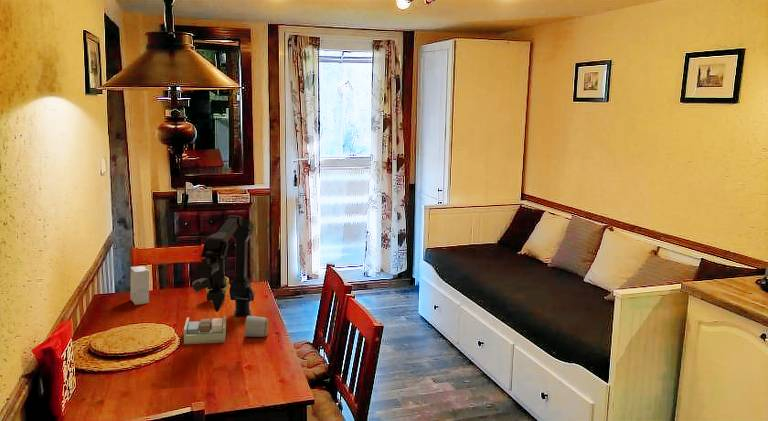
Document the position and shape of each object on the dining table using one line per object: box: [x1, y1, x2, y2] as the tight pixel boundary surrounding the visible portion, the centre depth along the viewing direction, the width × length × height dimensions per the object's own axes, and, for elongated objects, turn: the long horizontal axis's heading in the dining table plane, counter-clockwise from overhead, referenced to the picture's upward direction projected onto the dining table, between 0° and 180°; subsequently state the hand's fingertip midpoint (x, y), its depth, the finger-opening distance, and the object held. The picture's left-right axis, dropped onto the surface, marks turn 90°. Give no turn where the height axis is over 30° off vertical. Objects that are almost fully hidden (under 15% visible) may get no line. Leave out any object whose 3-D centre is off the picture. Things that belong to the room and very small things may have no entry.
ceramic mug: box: [244, 315, 270, 338], centre depth 225 cm, size 11×8×8 cm
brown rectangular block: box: [200, 318, 212, 333], centre depth 221 cm, size 8×4×2 cm, turn 13°
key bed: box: [183, 315, 227, 345], centre depth 221 cm, size 13×14×6 cm
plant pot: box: [205, 276, 230, 303], centre depth 262 cm, size 10×10×10 cm
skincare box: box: [129, 265, 150, 306], centre depth 257 cm, size 8×6×15 cm
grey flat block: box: [188, 320, 201, 335], centre depth 220 cm, size 8×4×2 cm, turn 13°
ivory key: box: [211, 317, 224, 332], centre depth 222 cm, size 8×4×2 cm, turn 13°
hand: (216, 311), depth 221 cm, fingers closed
